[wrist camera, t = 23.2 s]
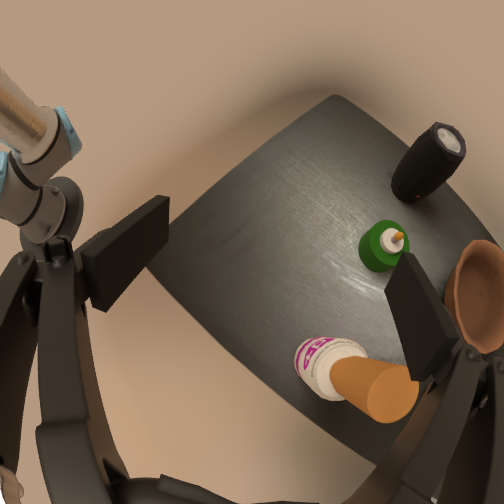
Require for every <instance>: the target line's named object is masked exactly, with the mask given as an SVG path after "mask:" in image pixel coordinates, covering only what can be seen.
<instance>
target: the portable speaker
mask: <svg viewBox="0 0 504 504" xmlns="http://www.w3.org/2000/svg"><path fill="white" fill-rule="evenodd" d="M465 154H466V147H465V140H464V139H463V137H462V136H461V134H460V133H459V131H458V130H456V129H455V128H454V127H453V126H450V125H446V124H443V123H439V122H435V123H434V124H433V125H432V126H431V127H430V128H429V129H428V130H427V131H426V132H424V133H423V134H422V135H421V136H419V137H418V138H417V140H416V141H415V142H414V144H413V145H412V146H411V147H410V149H409V150H408V151H407V153H406V154H405V155H404V157H403V158H402V160H401V161H400V163H399V164H398V166H397V168H396V170H395V172H394V175H393V178H392V184H391V188H392V190H393V193H394V194H395V195H396V196H397V198H398V199H401V200H405V201H408V202H413V203H415V202H417V201H419V200H421V199H423V198H424V197H426V196H428V195H429V194H431V193H433V192H434V191H435V190H436V189H437V188H438V187H439V186H441V185H442V184H443V183H444V182H445V181H446V180H447V179H448V178H449V177H450V176H452V175H453V173H454V172H455V170H456V169H457V168H458V166H459V165H460V163H461V162H462V160H463V158H464V157H465Z"/></svg>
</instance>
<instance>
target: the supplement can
mask: <svg viewBox="0 0 504 504" xmlns="http://www.w3.org/2000/svg"><path fill="white" fill-rule="evenodd" d="M350 356H360V357H364V358H368V356H367V354H366V352H365V350H364V349H363V348H362V347H361V346H360V345H359V344H358V343H356V342H354V341H351V340H349V339H341V338H331V337H316V336H315V337H312V338H309V339H307V340H306V341H304V342H303V343H302V344H300V346H299V347H298V349H297V350H296V353H295V357H294V367H295V370H296V372H297V373H298V375H299V376H300V377H301V378H302V379H303V380H304V381H305V383H306V384H307V385H308V386H309V387H310V388H311V389H312V390H313V391H314V392H315V393H317V394H318V395H319V396H320V397H321V398H324V399H327V400H330V401H342V400H345V398H344V397H342V396H341V395H340V394H338V393H337V392H336V391H335V389H334V387H333V384H332V382H331V381H330V377H329V372H330V369H331V367H332V365H333V364H334V363H335V362H336V361H337V360H339V359H341V358H347V357H350Z"/></svg>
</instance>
